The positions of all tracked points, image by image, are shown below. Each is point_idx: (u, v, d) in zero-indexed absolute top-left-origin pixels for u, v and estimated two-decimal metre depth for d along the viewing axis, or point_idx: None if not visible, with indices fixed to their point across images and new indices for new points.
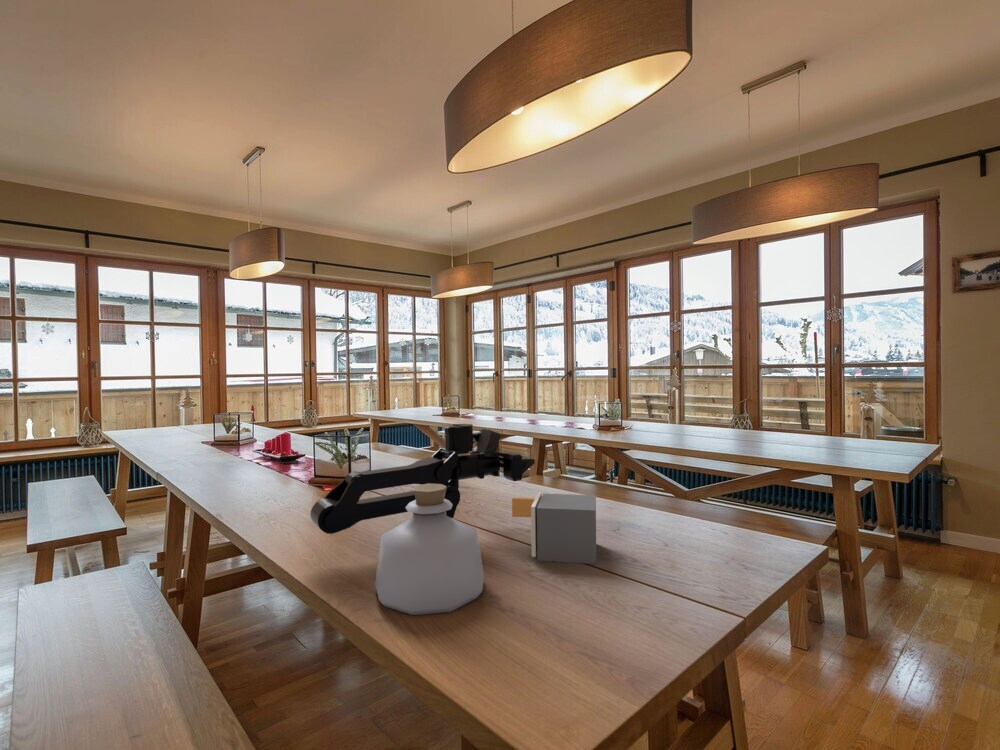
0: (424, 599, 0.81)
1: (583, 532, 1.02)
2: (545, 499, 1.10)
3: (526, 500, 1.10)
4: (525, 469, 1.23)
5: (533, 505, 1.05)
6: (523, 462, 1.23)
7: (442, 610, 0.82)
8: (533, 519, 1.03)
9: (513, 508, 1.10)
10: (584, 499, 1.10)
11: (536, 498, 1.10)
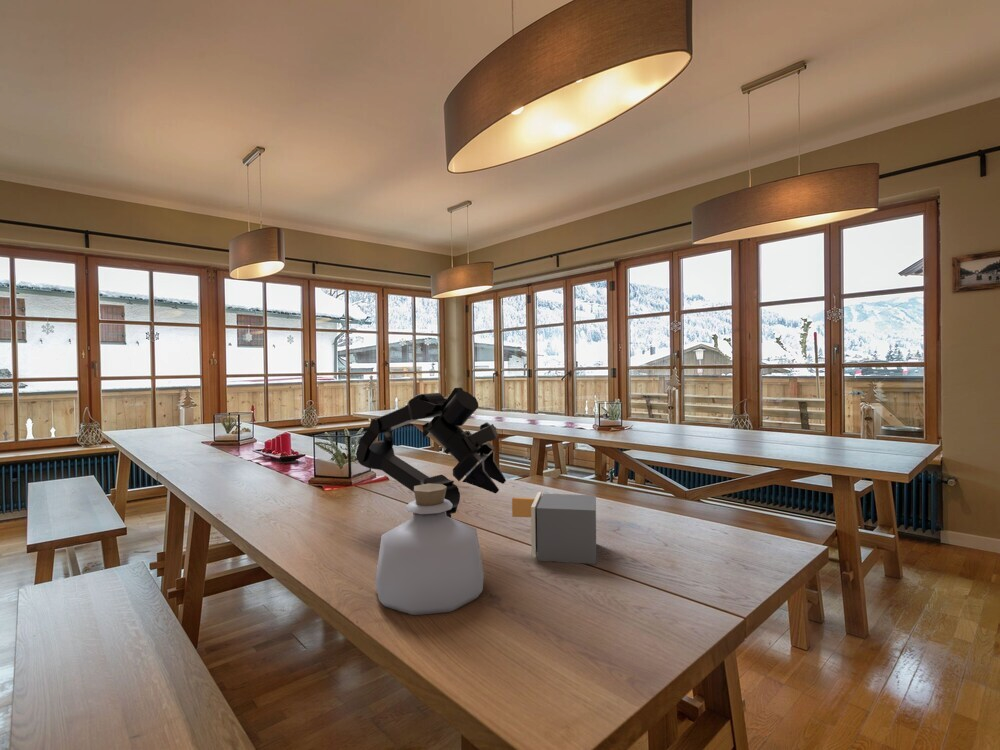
0: (424, 599, 0.81)
1: (583, 532, 1.02)
2: (545, 499, 1.10)
3: (526, 500, 1.10)
4: (479, 485, 1.06)
5: (533, 505, 1.05)
6: (483, 477, 1.06)
7: (442, 610, 0.82)
8: (533, 519, 1.03)
9: (513, 508, 1.10)
10: (584, 499, 1.10)
11: (536, 498, 1.10)
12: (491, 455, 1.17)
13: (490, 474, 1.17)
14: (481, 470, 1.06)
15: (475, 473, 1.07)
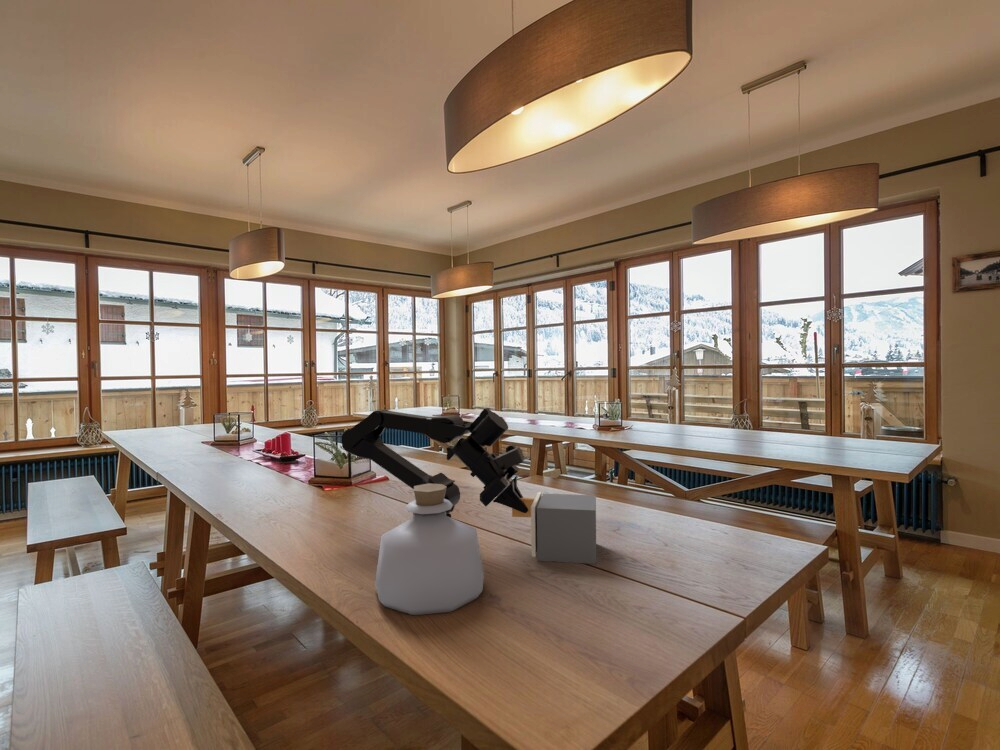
0: (424, 599, 0.81)
1: (583, 532, 1.02)
2: (545, 499, 1.10)
3: (526, 500, 1.10)
4: (509, 505, 1.09)
5: (533, 505, 1.05)
6: (513, 497, 1.09)
7: (442, 610, 0.82)
8: (533, 519, 1.03)
9: None
10: (584, 499, 1.10)
11: (536, 498, 1.10)
12: (514, 481, 1.12)
13: None
14: (511, 490, 1.08)
15: (505, 493, 1.09)
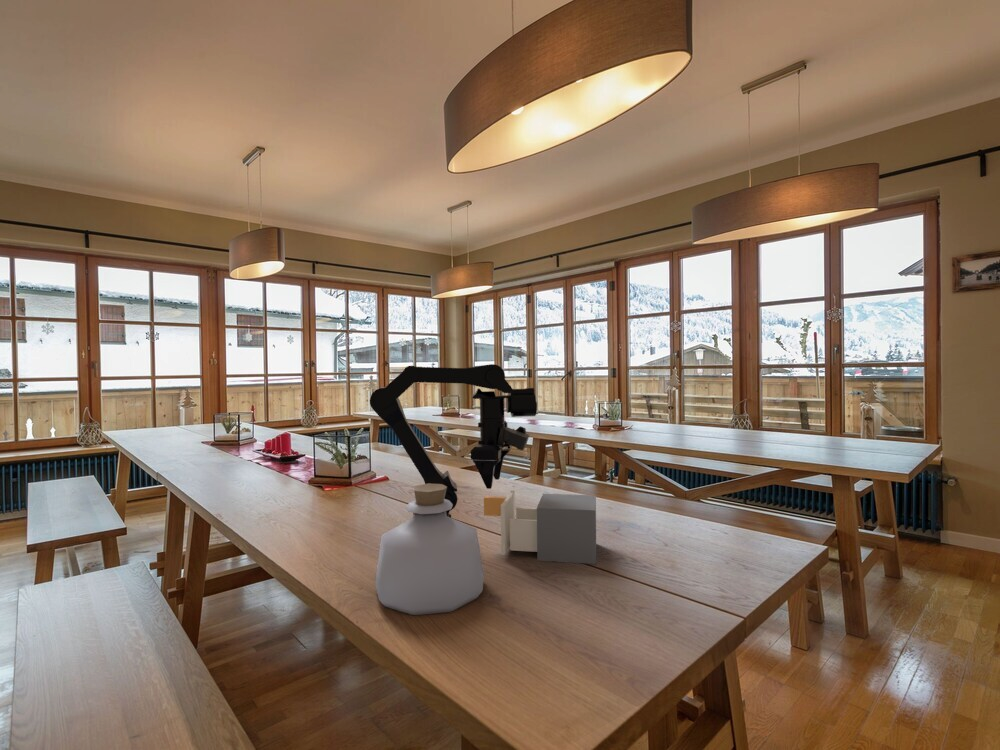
0: (424, 599, 0.81)
1: (583, 532, 1.02)
2: (545, 499, 1.10)
3: (497, 499, 1.11)
4: (481, 472, 1.12)
5: (503, 504, 1.06)
6: (489, 470, 1.12)
7: (442, 610, 0.82)
8: (503, 518, 1.05)
9: (485, 507, 1.11)
10: (584, 499, 1.10)
11: (507, 497, 1.11)
12: (505, 452, 1.22)
13: None
14: (492, 465, 1.11)
15: (486, 462, 1.12)
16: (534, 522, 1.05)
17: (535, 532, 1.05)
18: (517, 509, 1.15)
